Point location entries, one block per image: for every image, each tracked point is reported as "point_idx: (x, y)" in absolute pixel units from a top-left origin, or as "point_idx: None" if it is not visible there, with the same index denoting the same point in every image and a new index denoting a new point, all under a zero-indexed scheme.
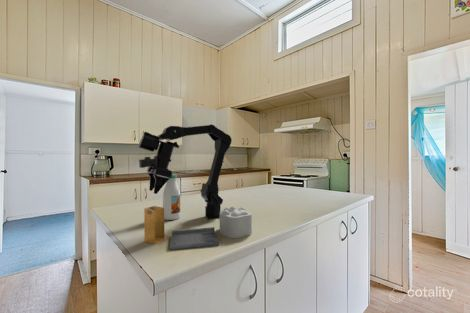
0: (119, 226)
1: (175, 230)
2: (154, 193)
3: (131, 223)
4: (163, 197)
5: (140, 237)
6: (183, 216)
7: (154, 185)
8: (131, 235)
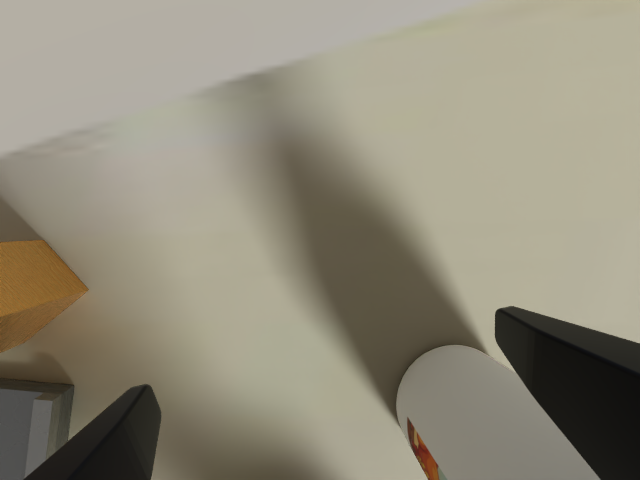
0: (379, 82)
1: (43, 421)
2: (135, 392)
3: (419, 149)
4: (531, 429)
5: (117, 216)
6: None
7: (565, 421)
8: (172, 165)
